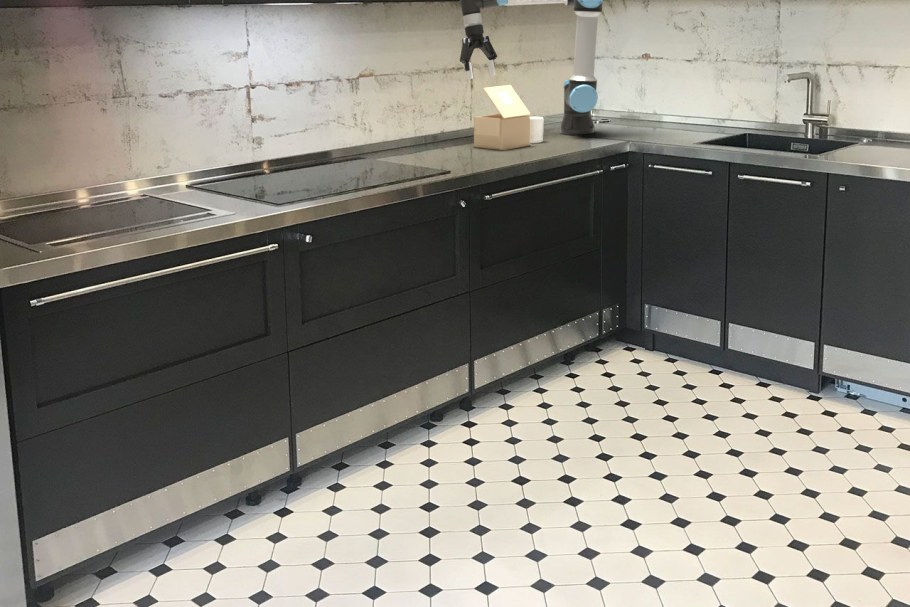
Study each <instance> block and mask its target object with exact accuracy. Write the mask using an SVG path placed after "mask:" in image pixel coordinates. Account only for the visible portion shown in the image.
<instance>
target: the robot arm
mask: <svg viewBox="0 0 910 607" xmlns="http://www.w3.org/2000/svg"><path fill="white" fill-rule="evenodd" d="M459 3H460V8H461V12H462V18H463V19H462V20H463V26H464V27H465V28H464V32H465V36H466V37H465V38H462V39H461V42H462V43H461V44H462V46H461V52H460V58H459V62H460V63H462V64H464V70H465V73H466V78H467V80H472V79H474V74H473V67H472V66H473V65H472V62H470V61H471V58H472V55H473V53H474V51H475V50H476V49H479V50H480V51H481V52H482V53H483V54H484V55H485V57H486V58H487V59H488V60H487V66H488V73H489V77H495V76H496V75H497V73H496V68H495V67H496V64H495V60H496V59H497V58H498V55H497V53H496V50H495V49H494V47H493V44H492V43H491V41H490V36H489V35H485V36H484V35H483V34H484V25H483V19H482V13H481V10H483V9H488V8H495V7H509V6H529V5H532V6H533V5H550V4H552V5H554V4H564V5H565V6H573V13H574V14H575V15H576V24H575V25H576V27H575V42H574V56H573V57H574V58H573V70H572V71H573V74H572V75H571V77H570V78H569V79H566V80H564V82H563V118H562V120H561V123H560V127H559V133H560V134H562V135H576V136H577V135H590V134H594V133H595V124H594V121H593V118H592V115H591V112H592V110H593V109H594V108H595V107H596V105H597V103H598V98H599V97H598V92H597V87H598V85H597V84H598V79H597V78H596V77H595V64H596V63H595V60H596V47H597V37H598V36H597V35H598V34H597V32H598V19H599V16H600V15H601V14H602V12H603V3H604V0H460V2H459Z"/></svg>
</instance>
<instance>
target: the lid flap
mask: <svg viewBox="0 0 910 607" xmlns="http://www.w3.org/2000/svg"><path fill="white" fill-rule="evenodd" d="M482 90H483V91H484V93H485V95H486V96H487V98H489V100H490V102H491V103H492V105H493V107H494V108H495V109H496V110H497V111H498V114H500V115H501V116H502V118H503V119H505V118H512V117H519V116H526V115H529V116H530V115H531V112H530V110H528V108H527V106H526V105H525V104H524V102H523V100H521V98H520V96H519V95H518V93H517V92H516V91H515V89H514V88H513V86H512V84H508V85H507V84H506V85H505V84H504V85H498V86H488V87H483V89H482Z"/></svg>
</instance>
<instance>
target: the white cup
mask: <svg viewBox="0 0 910 607" xmlns="http://www.w3.org/2000/svg"><path fill="white" fill-rule="evenodd" d="M544 118H545V117H543V116H530V144H539V143H543V139H544V137H543V136H544V128H545V126H544V125H545V124H544V122H545V119H544Z"/></svg>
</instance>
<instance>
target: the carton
mask: <svg viewBox="0 0 910 607" xmlns="http://www.w3.org/2000/svg"><path fill="white" fill-rule="evenodd" d="M530 117H531V116H530V115H526V116H519V117H512V118H505V119H503V118H502V116H501V115H500V113H495V114H489V115H488V114H487V115H486V114H485V115H482V116H480V115H478V116H473V147H474V148H478V149H487V150H496V151H507V150H512V149H518V148H525V147H530V145H531V143H530Z"/></svg>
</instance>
